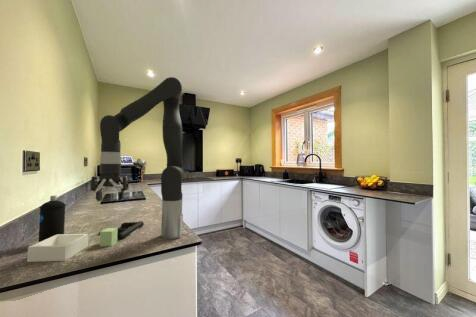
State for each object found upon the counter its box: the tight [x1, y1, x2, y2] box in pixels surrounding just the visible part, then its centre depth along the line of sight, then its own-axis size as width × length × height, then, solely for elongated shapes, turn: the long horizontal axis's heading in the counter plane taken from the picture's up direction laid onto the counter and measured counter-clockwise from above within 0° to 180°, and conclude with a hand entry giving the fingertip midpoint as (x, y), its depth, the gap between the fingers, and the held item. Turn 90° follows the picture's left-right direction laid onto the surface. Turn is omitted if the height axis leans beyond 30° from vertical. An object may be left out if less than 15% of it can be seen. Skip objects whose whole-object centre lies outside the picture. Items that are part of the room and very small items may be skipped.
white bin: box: [26, 233, 89, 263], centre depth 73 cm, size 12×12×5 cm
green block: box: [99, 227, 118, 247], centre depth 83 cm, size 4×4×6 cm
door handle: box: [98, 220, 145, 240], centre depth 97 cm, size 3×20×16 cm
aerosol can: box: [38, 195, 67, 242], centre depth 82 cm, size 8×8×20 cm
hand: (109, 200), depth 83 cm, fingers open, 8 cm apart
